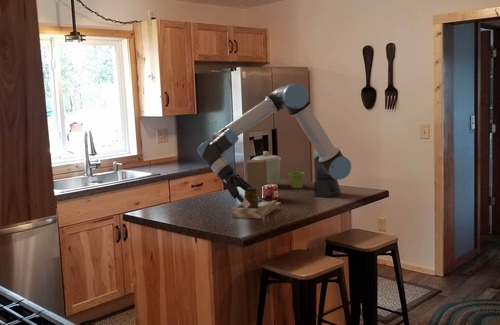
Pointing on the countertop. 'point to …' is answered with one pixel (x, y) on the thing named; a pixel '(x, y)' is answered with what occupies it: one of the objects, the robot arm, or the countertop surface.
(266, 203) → the trivet
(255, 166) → the block
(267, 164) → the canister
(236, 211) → the open wooden frame
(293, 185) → the plant pot
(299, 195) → the countertop surface
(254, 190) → the condiment
